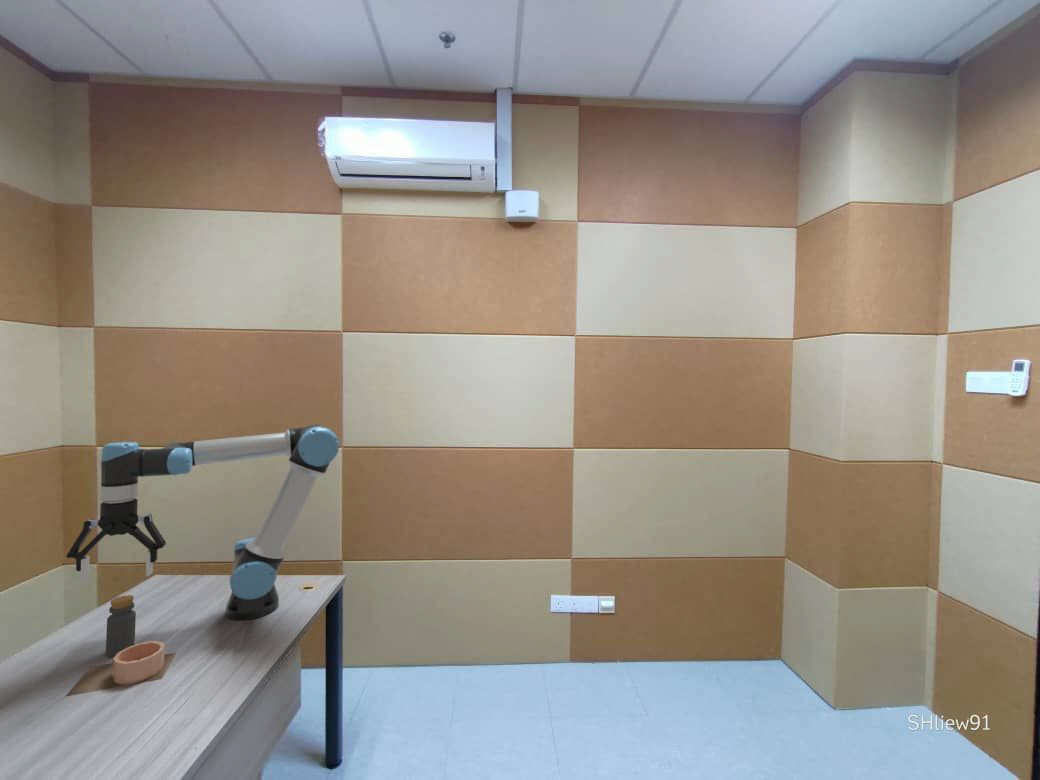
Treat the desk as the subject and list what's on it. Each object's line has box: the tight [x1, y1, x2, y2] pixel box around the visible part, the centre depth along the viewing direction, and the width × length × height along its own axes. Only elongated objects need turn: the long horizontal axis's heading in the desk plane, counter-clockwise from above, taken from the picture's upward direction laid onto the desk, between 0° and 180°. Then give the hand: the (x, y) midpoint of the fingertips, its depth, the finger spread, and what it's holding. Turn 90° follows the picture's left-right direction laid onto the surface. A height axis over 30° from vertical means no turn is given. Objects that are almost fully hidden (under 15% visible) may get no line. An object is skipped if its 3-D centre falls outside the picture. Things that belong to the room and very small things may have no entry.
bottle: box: [105, 594, 137, 658], centre depth 122 cm, size 6×6×15 cm
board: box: [65, 652, 177, 697], centre depth 112 cm, size 18×12×1 cm, turn 113°
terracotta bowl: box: [112, 640, 166, 686], centre depth 113 cm, size 10×10×5 cm
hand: (117, 578), depth 121 cm, fingers open, 13 cm apart
